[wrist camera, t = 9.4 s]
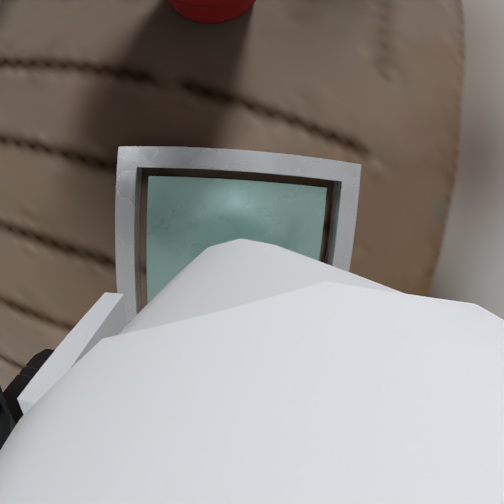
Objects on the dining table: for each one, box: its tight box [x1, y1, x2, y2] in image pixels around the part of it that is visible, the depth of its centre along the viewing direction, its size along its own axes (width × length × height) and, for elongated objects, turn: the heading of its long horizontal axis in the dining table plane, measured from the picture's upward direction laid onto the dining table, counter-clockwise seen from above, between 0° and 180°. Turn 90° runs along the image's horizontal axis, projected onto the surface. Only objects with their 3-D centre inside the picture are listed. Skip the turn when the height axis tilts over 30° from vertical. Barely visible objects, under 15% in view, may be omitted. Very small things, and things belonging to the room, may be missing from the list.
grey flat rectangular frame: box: [115, 146, 361, 326], centre depth 21 cm, size 14×30×1 cm, turn 176°
